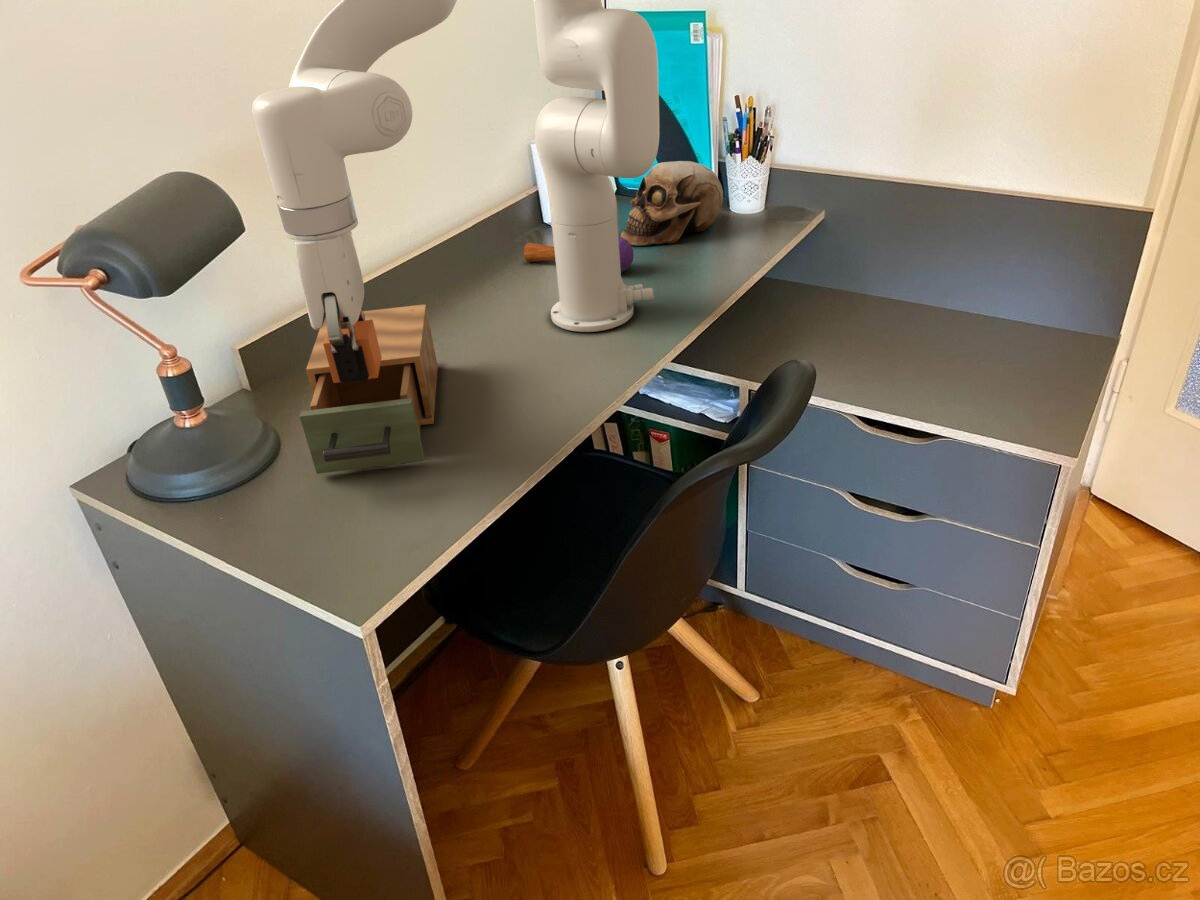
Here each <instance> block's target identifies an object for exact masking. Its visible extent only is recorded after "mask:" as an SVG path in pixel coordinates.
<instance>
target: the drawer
mask: <svg viewBox="0 0 1200 900" xmlns="http://www.w3.org/2000/svg"><path fill="white" fill-rule="evenodd" d="M422 406H423V401H422V397H421V392H420V387H419V382H418V377H417V373H416V368H415V362H414V363H406V364H397V365H389V366H380V369H379V374H378V378H371V379H368V380H365V381H357V382H349V383H341V382H339V383H334V382H333V379H332V375H331V372H329V373H321V374H320V376H319V379H318V382H317V386H316V389H315V392H314V395H313V394H312V398H311V402H310V406H309V408H310V410H309V409H308V410H302V411H301V412H300V414H299V420H300V423H301V426H302V429H303V432H304V436H305V439H306V442H307V446H308V449H309V453H310V456H311V460H312V463H313V466H314V469H315V473H316V474H318V475H319V474H327V473H334V472H343V471H350V470H358V469H365V468H368V469H369V468H375V467H383V466H390V465H398V464H407V463H416V462H422V461H425V452H424V449H423V448H424V447H423V443H422V439H421V438H422V437H421V426H422V425H421V416H422Z"/></svg>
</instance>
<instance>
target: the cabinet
mask: <svg viewBox="0 0 1200 900" xmlns="http://www.w3.org/2000/svg"><path fill="white" fill-rule="evenodd" d="M363 312H364V315H365V320H373V323H374V328H375V332H376V336H377V340H378V344H379V349H380V353H381V357H382V358H381V364H380V366H389V365H397V364H406V363H414V362H415V368H416V373H417V377H418V382H419V387H420V392H421V397H422V401H423V406H422V416H421V426H425V425H433V424H434V422H435V411H436V409H435V408H436V398H437V397H436V395H437V383H438V369H439V365H438V359H437V356H436V350H435V346H434V345H435V344H434V340H433V335H432V330H431V324H430V319H429V314H428V308H427V304H426V303H425V304H416V305H409V306H408V305H407V306H398V307H390V308H380V309H372V310H371V309H370V310H363ZM326 333H327V324H326V319H325V320H324V323H323V326H322V328H320V329H319V330H318V333H317V336H316V339H315V342H314V345H313V348H312V351H311V353H310V357H309V359H308V363H307V366H306V368H305V371H306V374H307V378H308V382H309V385H310V389H311V392H312V396H313V395H314V392H315V389H316V386H317V382H318V379H319V376H320V374H321V373H329V372H331V371H330V368H329V364H328V360H327V357H326V353H325V349H324V346H323V342H324V339H325V336H326Z"/></svg>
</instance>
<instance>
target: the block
mask: <svg viewBox="0 0 1200 900" xmlns="http://www.w3.org/2000/svg"><path fill="white" fill-rule="evenodd" d="M355 330H356V335H357V340H358V346H359V347H360V346H362V350H363V354H364V358H365V362H366V366H367V370H368V374H369V377H368V379H371V378H378V374H379V369H380V364H381V358H382V357H381V353H380V349H379V344H378V340H377V336H376V332H375V328H374V323H373V320H365V321H357V322H356V324H355ZM342 332H343V334H347V335H348V336H349V337H350V335H349V329H342ZM323 346H324V349H325V353H326V357H327V360H328V364H329V368H330V371H331V375H332V379H333V382H334V383H339V382H340V380H339V376H338V372H337V369H336V365H335V361H334V357H333V354H332V350H331V345H330V342H329V339H328V332H327V333H326V336H325V339H324V342H323Z"/></svg>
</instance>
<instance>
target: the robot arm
mask: <svg viewBox="0 0 1200 900" xmlns="http://www.w3.org/2000/svg"><path fill="white" fill-rule="evenodd" d="M457 1H458V0H340V1H339V2H338V3H337V4H336V5H335V6H334V7H333V8H332V9H331V10H330V11H329V12H328V13H327V14H326V15H325V16H324V17H323V18H322V20H321V21H320V22H319V24H318V25H317V26H316V28H315V29H314V31H313V32H312V34H311V35H310V37H309V39H308V41H307V43H306V45H305V46H304V49H303V51H302V53H301V54H300V57H299V59H298V60H297V63H296V65H295V68H294V70H293V72H292V74H291V77H290V81H289V84H288V87H281V88H277V89H272V90H269V91H266V92H263V93H260V94H259V95H258V96H256V97H255V99H254V100H253V102H252V105H251V115H252V119H253V123H254V126H255V127H254V128H255V130H256V133H257V137H258V141H259V144H260V148H261V151H262V155H263V158H264V159H263V160H264V162H265V167H266V169H267V174H268V177H269V180H270V184H271V188H272V191H273V195H274V198H275V202H276V205H277V209H278V213H279V216H280V220H281V223H282V227H283V230H284V234H285V237H286V238H287V239H289V240H292V241H293V242H294V252H295V259H296V265H297V270H298V274H299V279H300V284H301V288H302V294H303V296H304V297H303V298H304V301H305V305H306V309H307V314H308V318H309V319H308V320H309V322H310V326H311V328H312V329H313V330H315V331H319V330H320V328H322V326H323V323H324V320H325V319H326V324H327V332H328V339H329V342H330V345H331V350H332V354H333V357H334V361H335V365H336V369H337V372H338V376H339V380H340V382H341V383H349V382H357V381H365V380H368V377H369V374H368V370H367V366H366V362H365V358H364V354H363V350H362V346H360V347H359V346H358V340H357V335H356V330H355V324H356V322H357V321H365V315H364V312H363V311H364V310H363V304H364V299H365V286H364V279H363V275H362V269H361V265H360V260H359V257H358V253H357V248H356V246H355V242H354V238H353V232H352V231H353V230H355V229H356V228H357V227H358V225H359V221H358V216H357V211H356V208H355V204H354V199H353V194H352V189H351V186H350V181H349V177H348V173H347V168H346V164H345V160H344V159H345V158H346V157H347V156H352V155H360V154H367V153H374V152H375V153H376V152H380V151H384V150H388V149H389V148H392V147H394V146H395V145H397V144H398V143H400V142H401V141H402V140H403V139H404V137H406V135H407V133H408V132H409V130H410V128H411V126H412V121H413V107H412V102H411V99H410V97H409V95H408V93H407V91H406V90H405V89H404V88H403V87H402V85H400V84H399V83H398V82H397V81H395V80H393V78H390V77H388V76H386V75H383V74H380V73H375V72H368V71H369V69H370V68H371V67H372V66H373V64H375V63H376V62H377V61H378V60H379V59H380V58H381V57H382V56H383V55H384V54H386V53H388V51H390V50H391V49H393V48H394V47H396V46H398V45H400V44H402V43H404V42H406V41H408V40H411V39H413V38H416V37H418V36H420V35H423V34H424V33H426V32H428V31H430V30H431V29H433V28H435V27H437V26H438V25H440V24H441V23H443V22H445V21H446V20H447V19H448V18H449V16H450V15H451V13H452V12H453V9H454V8H455V5H456V3H457ZM532 1H533V11H534V12H533V13H534V22H535V23H534V24H535V33H536V41H537V52H538V58H539V65H540V69H541V72H542V74H543V76H544V77H545V78H546V80H548V81H549V82H550V83H552V84H553V85H556V86H559V87H564V88H571V89H580V90H590V91H591V90H592V91H604V97H605V99H602V98H597V97H595V98H594V97H585V96H564V97H563V96H562V97H558V98H554V99H553V100H550V101H549V102H548V103H547V104H545V105H544V106H543V108H541V110H540V112H539V113H538V115H537V118H536V121H535V126H534V141H535V147H536V151H537V155H538V158H539V161H540V164H541V167H542V172H543V173H544V179H545V182H546V188H547V194H548V201H549V210H550V221H551V230H552V240H553V247H554V251H555V269H556V279H557V280H556V281H557V288H558V289H557V290H558V298H559V300H558V301H557V302H556V303H555V304H554V305H553V306H552V307H551V309H550V318H551V321H552V323H553V324H554V325H556V326H557V327H559V328H561V329H563V330H566V331H571V332H577V333H594V332H602V331H607V330H611V329H614V328H617V327H620V326H622V325H624V324H626V323H627V322H628V321H629V320H630V319H631V318H633V315H634V303H637V302H642V303H643V302H644V303H645V302H651V301H652V302H653V301H654V300H655V295H654V289H653V287H646V288H643V287H644V286H643V284H642V283H639V284H633V285H628V284H625V283H624V281H623V278H622V272H621V269H620V253H619V237H620V236H619V224H618V223H619V222H618V205H617V204H618V203H617V197H616V192H615V190H614V187H613V184H612V181H611V180H610V178H609V177H612V178H621V179H637V178H639V177H643V176H645V175H646V174H647V173H649V172H650V171H651V169H652V168H653V165H654V163H655V161H656V159H657V156H658V151H659V145H660V94H659V59H658V48H657V42H656V39H655V36H654V33H653V30H652V28H651V26H650V25H649V23H648V21H647V20H646V19H645V18H644V17H643V16H642V15H641V14H639V13H638V12H635V11H634V10H630V9H624V8H604V7H603V3H602V0H532ZM342 329H349V335H350V337H349V336H348V335H347V334H343V332H342Z"/></svg>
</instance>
